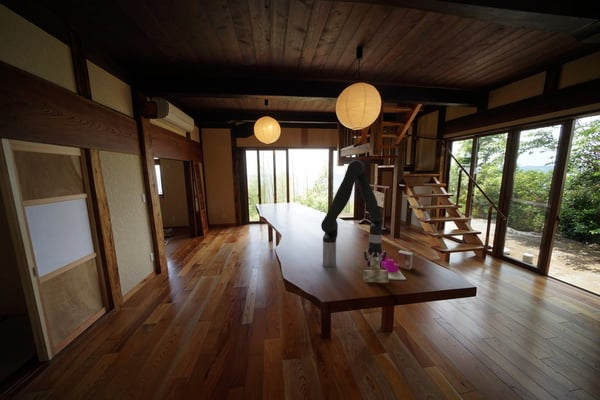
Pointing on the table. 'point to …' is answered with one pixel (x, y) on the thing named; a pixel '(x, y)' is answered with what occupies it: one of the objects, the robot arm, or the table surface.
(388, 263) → the toy block
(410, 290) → the table surface
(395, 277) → the pad
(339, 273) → the table surface
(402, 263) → the small box
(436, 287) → the table surface
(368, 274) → the screen
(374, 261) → the birch cube
